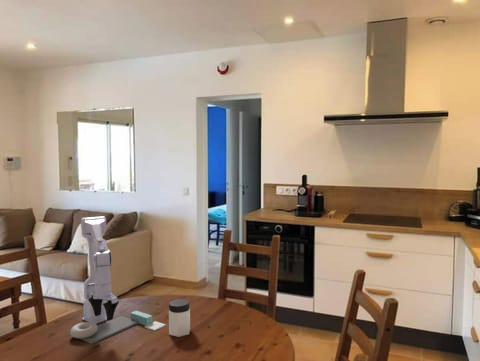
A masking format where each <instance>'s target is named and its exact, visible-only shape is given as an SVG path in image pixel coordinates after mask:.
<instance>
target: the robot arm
mask: <svg viewBox="0 0 480 361" xmlns="http://www.w3.org/2000/svg"><path fill="white" fill-rule="evenodd" d="M80 228H81V229H80V230H81V235H82V237H83V238H85V239H86V242H87V245H88V259H89V273H90V274H89V275H90V276H89V277H87V279H86V280H84V282H83V296H84V301H83V317H82V318H81V319H82V320H84V322H93V323H95V324H96V325H98V324H99V323H102V322H104V321H105V322H107V321H110V320H112V319H114V316H115V312H116V308H117V306H118V305H119V300H118V297H117V296H115V295H114V293H112V279H111V278H112V277H111V276H112V274H111V266H112V264H113V256H112V252H111V250H110V249H109V248H108V244H107V240H106V239H104V238H103V236H105V233H106V229H107V218H106V217H105V215H103V216H91V217H90V216H89V217H82V218H81V219H80Z"/></svg>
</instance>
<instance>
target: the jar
mask: <svg viewBox="0 0 480 361" xmlns="http://www.w3.org/2000/svg"><path fill="white" fill-rule="evenodd" d="M190 303H191V302H190V300H188V299H184V298H176V299H173V300H170V301H169V303H168V309H169V310H168V334H169V335H170V336H174V337H178V338H179V337H184V336H187V335H190V332H191V304H190Z"/></svg>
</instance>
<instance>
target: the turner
mask: <svg viewBox="0 0 480 361" xmlns="http://www.w3.org/2000/svg"><path fill="white" fill-rule="evenodd" d="M153 318H154V316H153V315H151V314H149V313H145V312H141V311H140V310H133V311H132V312H130V319H132V320H135V321H137V322H138V324H140V325H142V326H143V327H144V328H145V329H148V330H150V331H153V332H156V331H158V330H159V329H162V328H164V327H165V326H166V325H167V324H166V323H162V322H159V321H157V320H154V321H153Z"/></svg>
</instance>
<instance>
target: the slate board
mask: <svg viewBox="0 0 480 361" xmlns="http://www.w3.org/2000/svg"><path fill="white" fill-rule="evenodd" d="M138 324H139V323H138V322H137V321H135V320H132V319H131V318H129V317H126V316H123V315H120V316H117V317H115V318H113V319H112V320H110V321H107V320H106V321H105V322H103V323H102V322H101V324H96V325H97V326H98V330H97V332H96V333H95V334H94V335H92V336H90V337H87V338H78V339H79V340H81V341H83V342H86V343H88V344H90V345H93V344H95V343H99V342H100V341H102V340H104V339H106V338H109V337H112V336H113V335H116V334H118V333H120V332H123V331H124V330H127V329H129V328H132V327H134V326H136V325H138Z"/></svg>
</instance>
